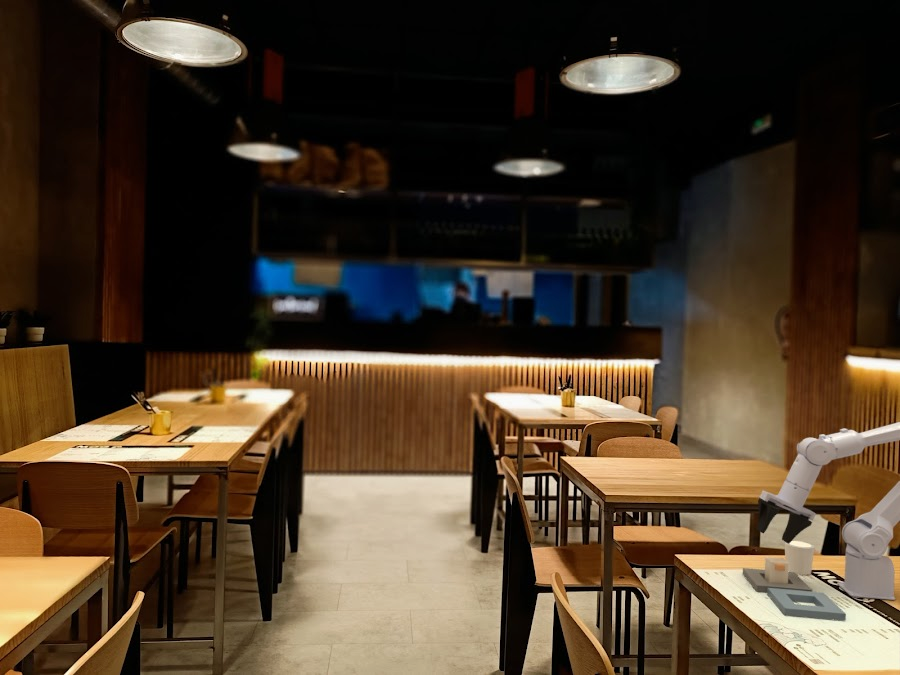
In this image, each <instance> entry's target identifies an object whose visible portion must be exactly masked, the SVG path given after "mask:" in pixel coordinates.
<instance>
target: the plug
mask: <svg viewBox="0 0 900 675" xmlns="http://www.w3.org/2000/svg"><path fill="white" fill-rule="evenodd" d="M764 558H765V559H764V560H765V561H764V562H765V563H764V570H765V580H766V582H774V583H785V584H788V566H789V563H788V562H787V561H786V560H785V558H783V557H773V556H764Z"/></svg>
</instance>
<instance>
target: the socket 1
mask: <svg viewBox="0 0 900 675" xmlns="http://www.w3.org/2000/svg"><path fill="white" fill-rule="evenodd" d="M742 575H743V577H744V578H745V577H746V578H745V579H746V580H747V581H748V583H749V584H750V585H751V586H752V588H753V589H754V590H755V592H757V593H765V594H767V588H777V589H788V590H800V591H811V592H813V589H812V588H811V587H810V586H809V585H808V584H807V583H806V582H805V581H804V580H803V579H802V578H801V577H800V576H799V575H798V574H796V573H794V572H788V584H785V583H774V582H766V580H765V569H762V568H761V569H759V568H747V567H742Z"/></svg>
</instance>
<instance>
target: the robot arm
mask: <svg viewBox="0 0 900 675" xmlns="http://www.w3.org/2000/svg"><path fill="white" fill-rule="evenodd" d="M818 436H819V437H818V438H816V437H815V438H814V437H806V438H804V439H802V441H801V440H800V442H798V443H797V445H796V452H797V454H796V455H797V456H796V457H795V460H794V461H793V464H792V465H791V467H790V469H789V470H788V473H787V476H786V477H785V479H784V482H783V484H782V486H781V488H780V490H779V492H778V493H777V494H773V493H771V492H768V491H766V490H762V491H761V493H760V495H759V498H758V501H757V504H758V518H757V524H756V530H757V531H759V532H760V533H761V534H764V533H765V532H767V529H768V528H769V525H770V523H771V522H772V520H774V518H775V517H776V516H777V514H778V513H779V512H781V510H780V509H779V508H778V507H780V508H782V509H785V510H788V511H789V513H788V521H787V524H786V527H785V530H784V532H783V533H782V537H781V541H784V542H786V543H788V544H789V543H790V542H791V541H792V540H794V539H795V538H796V537H797V536H798V535H799V534H800V533H801V532H803V531H804V530H805V529H807V528H809V527H811V526H812V523H813V521H814V519H815V517H816V515H817V513H815V512H814V511H812V510H811V509H808V508H806V507H804V505H805V503H806V500H807V498H808V497H809V495H810V493H811V490H812V489H813V486H814V484H815V482H816V480H817V478H818V476H819V475H820V472H821V469H822V468H823V466H826V465H828V464H829V463H831V461H833V460H837V459H842V458H846V457H851V456H855V455H859V454H861V453H862V452H863V451H864V449H865V448H866V447H871V446H875V445H880V444H881V445H882V444H887V443H893V442H897V441H900V421H899V422H895V423H892V424H891V423H890V424H887V425H884V426H879V427H877V428H873V429H869V430H866V431H862V432H857V431H855V430H853V429H848V428H841V429H839V432H835V433H830V434H827V435H826V434H819V435H818ZM777 506H778V507H777ZM899 522H900V480H899V481H898V482H897V483H896V484H895V485H894V486H893V487H892V488H891V489H890V490H889V491H888V492H887V494H886V495H884V496H883V498H882V499H881V500H880V501H879V502H878V503H877V504H876V505H875V506H874V507H873V508H872V509H871V511H868V512H865V513H863V514H860V515H859V516H858V517H857V518H856V519H853V520H851V521H848V522H847V523H846V524H844V525H843V527H842V530H841V535H842V536H841V537H842V540H844V542H845V543H846V547H845V562H844V582H839V581H838V582H837V585H838V587H840V588H841V589H842V590H844V591H845V592H846V593H847V594H848V595H849V596H850V597H857V598H865V599H866V598H868V599H869V598H870V599H880V600H891V601H896V597H895V594H894V593H895V565H894V562H893V560H892V559H891V558H890V557H889V556H887V555H884V554H885V553H886V552H887V550H888V546H889V544H890V542H891V540H893V538H894V527H895V526H896V525H897V524H898V523H899Z"/></svg>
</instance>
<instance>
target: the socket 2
mask: <svg viewBox="0 0 900 675" xmlns="http://www.w3.org/2000/svg"><path fill="white" fill-rule="evenodd" d="M766 594H767V595H768V597H769V598H770V599H771V600H772V602H773V603H774V604H775V605H776V607H777V608H778V609H779V610H780V612H781V613H782V614H783V615H784V616H788V617H789V616H790V617H797V618H798V617H800V618H810V619H820V620H821V619H822V620H830V619H834V620H833V621H840V620H846V621H847V618H846V617H847V616H846V615H847V614H846V612H845V611H844V610H842V608H840V607H839V605H837V604H836V602H834V601H833V600H832V599H831V598H830V597H829V596H828V595H826V594H825V593H824V592H823V591H821V592H820V591H812V592H811V591H800V590H788V589H777V588H767V593H766ZM795 602H799V603H801V602H802V603H810V604H814V605H807V604H799V603H798V604H797V603H795Z"/></svg>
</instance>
